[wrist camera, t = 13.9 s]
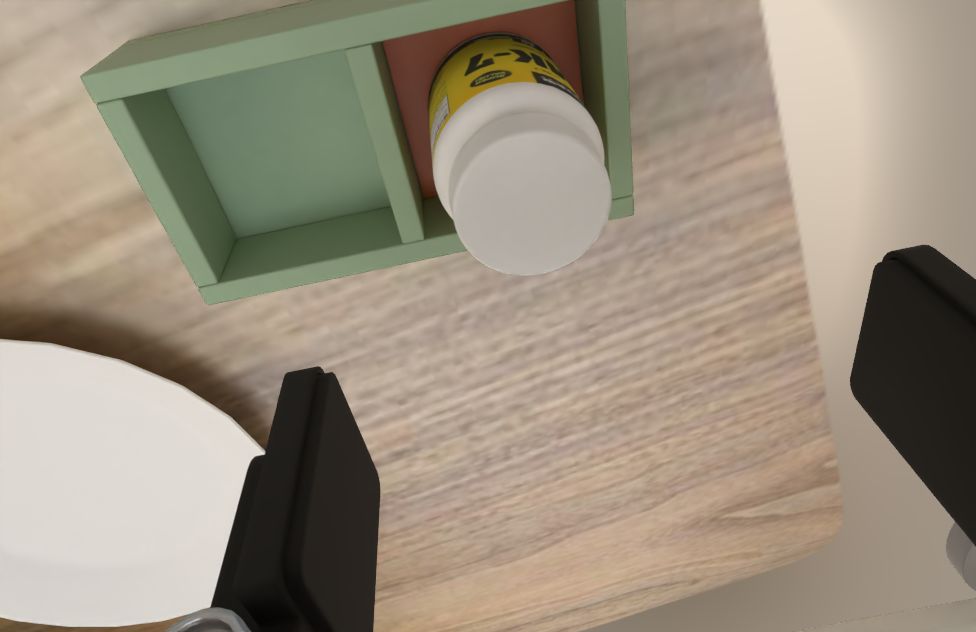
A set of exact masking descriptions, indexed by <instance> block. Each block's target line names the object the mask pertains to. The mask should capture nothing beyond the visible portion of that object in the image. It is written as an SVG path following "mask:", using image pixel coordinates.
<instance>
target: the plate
mask: <svg viewBox="0 0 976 632" xmlns="http://www.w3.org/2000/svg"><path fill="white" fill-rule="evenodd" d="M264 454H265V450H264V449H263V448H262V447H261V446H260V445H259V444H258V443H257V442H256V441H255V440H254V439H253V438H252V437H251V436H250V435H249V434H248V433H247V432H246V431H245V430H244V429H243V428H242V427H241V426H240V425H239V424H238V423H237V422H236V421H235V420H234V419H233V418H232V417H231V416H229V415H227V414H226V413H224V412H223V411H221V410H220V409H218V408H217V407H215V406H214V405H212V404H210V403H209V402H207V401H206V400H204V399H203V398H201V397H200V396H198V395H197V394H195V393H194V392H192V391H190V390H189V389H187V388H186V387H184V386H183V385H180V384H178V383H175V382H173V381H171V380H168V379H166V378H164V377H161V376H159V375H156V374H154V373H152V372H149V371H147V370H145V369H142V368H140V367H137V366H135V365H133V364H130V363H128V362H126V361H123V360H120V359H116V358H112V357H107V356H103V355H99V354H95V353H91V352H87V351H82V350H78V349H74V348H70V347H66V346H62V345H57V344H53V343H44V342H32V341H19V340H7V339H0V617H2V618H6V619H11V620H15V621H22V622H31V623H40V624H49V625H58V626H67V627H118V626H126V625H134V624H142V623H150V622H159V621H165V620H168V619H172V618H175V617H179V616H183V615H186V614H190V613H194V612H196V611H199V610H201V609H206V608H208V607H210V606H211V603H212V599H213V595H214V592H215V588H216V584H217V581H218V577H219V573H220V569H221V566H222V562H223V558H224V555H225V551H226V547H227V544H228V540H229V536H230V532H231V529H232V525H233V521H234V518H235V514H236V510H237V506H238V503H239V499H240V495H241V492H242V488H243V484H244V480H245V477H246V473H247V469H248V467H249V464H250V462H251V460H252V459H253V458H254V457H255V456H259V455H264Z"/></svg>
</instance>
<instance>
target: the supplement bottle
mask: <svg viewBox="0 0 976 632" xmlns="http://www.w3.org/2000/svg"><path fill="white" fill-rule="evenodd" d="M428 111H429V125H430V140H431V152H432V167H433V177H434V183H435V187H436V190H437V193H438V196H439V198H440V201H441V203H442V205H443V207H444V208H445V210H446V211H447V213H448V214H449V216H450V217H451V218H452V219H453V220H454V225H455V228H456V231H457V234H458V236H459V238H460V240H461V242H462V243H463V245H464V246H465V248H466V249H467V250H468V251H469V252H470V253H471V254H472V255H473V257H474V258H476V259H477V260H478V261H479V262H481V263H482V264H484V265H486V266H487V267H489V268H491V269H493V270H496V271H499V272H501V273H505V274H509V275H518V276H534V275H541V274H546V273H549V272H552V271H556V270H558V269H560V268H563V267H565V266H566V265H568V264H570V263H572V262H574V261H575V260H576V259H578V258H579V257H581V256H582V255H583V254H584V253H585V252H586V251H587V250H589V249H590V248H591V246H592V245H593V244H594V243H595V242H596V240H597V239H598V237H599V236H600V234H601V232H602V231H603V229H604V227H605V224H606V222H607V220H608V217H609V213H610V209H611V200H612V193H611V184H610V180H609V176H608V173H607V171H606V168H605V166H604V148H603V143H602V139H601V136H600V133H599V130H598V127H597V125H596V123H595V122H594V120H593V118H592V116H591V115H590V113H589V111H588V110H587V109H586V107H585V106H584V104H583V102H582V101H581V100H580V98H579V97H578V96H577V94H576V92H575V91H574V90H573V88H572V86H571V85H570V84H569V82H568V81H567V79H566V78H565V77H564V75H563V74H562V73H561V71H560V70H559V68H558V66H557V65H556V64H555V62H554V61H553V59H552V58H551V57H550V56H549V55H548V54H547V52H546V51H545V50H544V49H542V48H541V47H540V46H539V45H537V44H536V43H535V42H533V41H531V40H529V39H527V38H525V37H523V36H520V35H517V34H512V33H505V32H493V33H486V34H481V35H478V36H474V37H472V38H470V39H467V40H465V41H464V42H462V43H460V44H459V45H458V46H456V47H455V48H454V49H453V50H452V51H450V52H449V53H448V55H447V56H446V57H445V58H444V59H443V61H442V62H441V63H440V65H439V67H438V68H437V70H436V72H435V74H434V77H433V79H432V82H431V86H430V90H429V97H428Z"/></svg>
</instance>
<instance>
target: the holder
mask: <svg viewBox="0 0 976 632" xmlns="http://www.w3.org/2000/svg"><path fill="white" fill-rule="evenodd" d="M493 32H505V33H512V34H517V35H520V36H523V37H525V38H527V39H529V40H531V41H533V42H535V43H536V44H537V45H539V46H540V47H541V48H542V49H544V50H545V51H546V52H547V54H548V55H549V56H550V57H551V58H552V59H553V61H554V62H555V64H556V65H557V66H558V68H559V70H560V71H561V73H562V74H563V75H564V77H565V78H566V79H567V81H568V82H569V84H570V85H571V86H572V88H573V90H574V91H575V92H576V94H577V96H578V97H579V98H580V100H581V101H582V102H583V104H584V106H585V107H586V109H587V110H588V111H589V113H590V115H591V116H592V118H593V120H594V122H595V123H596V125H597V127H598V130H599V133H600V136H601V139H602V143H603V148H604V166H605V168H606V171H607V173H608V176H609V180H610V184H611V193H612V200H611V209H610V213H609V217H608V220H613V219H618V218H623V217H627V216H632V215H634V198H633V195H632V194H633V173H632V149H631V126H630V103H629V79H628V56H627V33H626V9H625V0H312V1H307V2H302V3H298V4H293V5H289V6H284V7H280V8H275V9H271V10H266V11H262V12H257V13H252V14H248V15H243V16H239V17H234V18H230V19H225V20H221V21H216V22H212V23H207V24H202V25H198V26H193V27H189V28H184V29H180V30H175V31H171V32H166V33H162V34H157V35H152V36H148V37H143V38H139V39H134V40H130V41H128V42H126V43H125V44H123V45H122V46H121V47H120V48H118V49H117V50H115V51H114V52H113V53H111V54H110V55H109V56H107V57H106V58H104V59H103V60H102V61H100V62H99V63H98V64H96V65H95V66H93V67H92V68H91V69H89V70H88V71H87V72H85V73H84V74H83V75H81V76H80V78H81V80H82V82H83V83H84V85H85V87H86V89H87V91H88V92H89V94H90V96H91V98H92V100H93V101H94V103H98V104H97V108H98V110H99V112H100V113H101V115H102V117H103V119H104V121H105V122H106V124H107V126H108V128H109V130H110V131H111V133H112V135H113V137H114V139H115V140H116V142H117V144H118V146H119V148H120V149H121V151H122V153H123V155H124V157H125V158H126V160H127V162H128V164H129V166H130V167H131V169H132V171H133V173H134V175H135V176H136V178H137V180H138V182H139V184H140V185H141V187H142V189H143V191H144V193H145V194H146V196H147V198H148V200H149V202H150V203H151V205H152V207H153V209H154V211H155V213H156V214H157V216H158V218H159V220H160V222H161V223H162V225H163V227H164V229H165V231H166V232H167V234H168V236H169V238H170V240H171V241H172V243H173V245H174V247H175V249H176V250H177V252H178V254H179V256H180V258H181V259H182V261H183V263H184V265H185V267H186V268H187V270H188V272H189V274H190V276H191V277H192V279H193V281H194V283H195V285H196V286H197V287H198V290H199V292H200V293H201V295H202V297H203V299H204V301H205V302H206V304H207V305H212V304H217V303H222V302H227V301H231V300H236V299H241V298H245V297H250V296H255V295H260V294H264V293H269V292H274V291H278V290H283V289H288V288H293V287H297V286H302V285H307V284H311V283H316V282H321V281H326V280H330V279H335V278H340V277H344V276H349V275H354V274H359V273H363V272H368V271H373V270H377V269H382V268H387V267H392V266H396V265H401V264H406V263H410V262H415V261H420V260H425V259H429V258H434V257H439V256H443V255H448V254H453V253H458V252H462V251H467V249H466V248H465V246H464V245H463V243H462V242H461V240H460V238H459V236H458V234H457V231H456V228H455V225H454V220H453V219H452V218H451V217H450V216H449V214H448V213H447V211H446V210H445V208H444V207H443V205H442V203H441V201H440V198H439V196H438V193H437V190H436V187H435V183H434V177H433V167H432V152H431V140H430V125H429V111H428V97H429V90H430V86H431V82H432V79H433V77H434V74H435V72H436V70H437V68H438V67H439V65H440V63H441V62H442V61H443V59H444V58H445V57H446V56H447V55H448V53H449V52H450V51H452V50H453V49H454V48H455V47H456V46H458V45H459V44H460V43H462V42H464V41H465V40H467V39H470V38H472V37H474V36H478V35H481V34H486V33H493ZM608 220H607V221H608Z"/></svg>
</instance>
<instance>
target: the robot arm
mask: <svg viewBox="0 0 976 632" xmlns="http://www.w3.org/2000/svg"><path fill="white" fill-rule="evenodd" d="M850 386H851V390H852V392H853V395H854V397H855V398H856V400H857V401H858V402H859V403H860V405H861V406H862V407H863V408H864V410H865V411H866V412H867V413H868V415H869V416H870V417H871V418H872V420H873V421H874V422H875V423H876V424H877V426H878V427H879V428H880V429H881V431H882V432H883V433H884V434H885V436H886V437H887V438H888V439H889V441H890V442H891V443H892V444H893V445H894V446H895V448H896V449H897V450H898V452H899V453H900V454H901V455H902V457H903V458H904V459H905V460H906V461H907V462H908V464H909V465H910V466H911V468H912V469H913V470H914V471H915V472H916V474H917V475H918V476H919V477H920V479H921V480H922V481H923V482H924V483H925V485H926V486H927V487H928V489H929V490H930V491H931V492H932V493H933V495H934V496H935V497H936V498H937V499H938V501H939V502H940V503H941V505H942V506H943V507H944V508H945V509H946V511H947V512H948V513H949V514H950V516H951V517H952V518H953V519H954V520H955V522H956V523H957V524H958V525H959V527H960V528H961V529H962V530H963V532H964V533H965V534H966V535H967V537H968V538H969V539H970V540H971V541H972V543H973V544H974V545H975V546H976V279H974V278H973V277H971V276H970V275H969V274H968V273H966V272H965V271H964V270H962V269H961V268H960V267H958V266H957V265H956V264H954V263H953V262H952V261H950V260H949V259H948V258H947V257H945V256H944V255H943V254H941V253H940V252H938V251H937V250H936V249H934V248H933V247H931V246H929V245H920V246H915V247H910V248H905V249H900V250H895V251H891V252H889V253H887V254H886V255H885V256H884V258H883V260H882V262H880V263H878V264H877V265H876V266H875V268H874V270H873V275H872V280H871V284H870V289H869V293H868V298H867V303H866V307H865V312H864V317H863V322H862V326H861V331H860V335H859V340H858V344H857V349H856V354H855V359H854V363H853V368H852V372H851V377H850ZM379 507H380V482H379V477H378V473H377V470H376V468H375V466H374V463H373V461H372V459H371V456H370V454H369V452H368V449H367V447H366V445H365V442H364V440H363V438H362V435H361V433H360V431H359V428H358V426H357V424H356V421H355V419H354V417H353V415H352V412H351V410H350V408H349V405H348V403H347V401H346V398H345V396H344V394H343V391H342V389H341V387H340V384H339V382H338V380H337V378H336V376H335V374H334V373H333V372H330V373H324V371H323V369H322V368H321V367H318V366H317V367H313V368H308V369H303V370H298V371H293V372H288V373H286V374H285V376H284V379H283V383H282V387H281V391H280V395H279V399H278V403H277V408H276V412H275V416H274V420H273V424H272V428H271V432H270V436H269V440H268V444H267V448H266V452H265V454H264V455H259V456H255V457H254V458H253V459H252V460H251V462H250V464H249V467H248V469H247V473H246V477H245V480H244V484H243V488H242V492H241V495H240V499H239V503H238V506H237V510H236V514H235V518H234V521H233V525H232V529H231V532H230V536H229V540H228V544H227V547H226V551H225V555H224V558H223V562H222V566H221V569H220V573H219V577H218V581H217V584H216V588H215V592H214V595H213V599H212V603H211V607H210V608H206V609H201V610H199V611H196V612H194V613H191V614H189V615H186V616H185V617H183V618H182V619H180V620H179V621H177V622H176V623H174V624H173V625H171V626H170V627H169V628H168V629H167V630H166V631H165V632H373V623H374V604H375V584H376V565H377V546H378V526H379ZM792 632H976V598H974V599H969V600H963V601H958V602H952V603H946V604H940V605H935V606H929V607H924V608H918V609H913V610H907V611H901V612H896V613H891V614H885V615H879V616H874V617H869V618H863V619H858V620H852V621H846V622H841V623H835V624H830V625H825V626H820V627H814V628H808V629H803V630H798V631H792Z"/></svg>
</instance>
